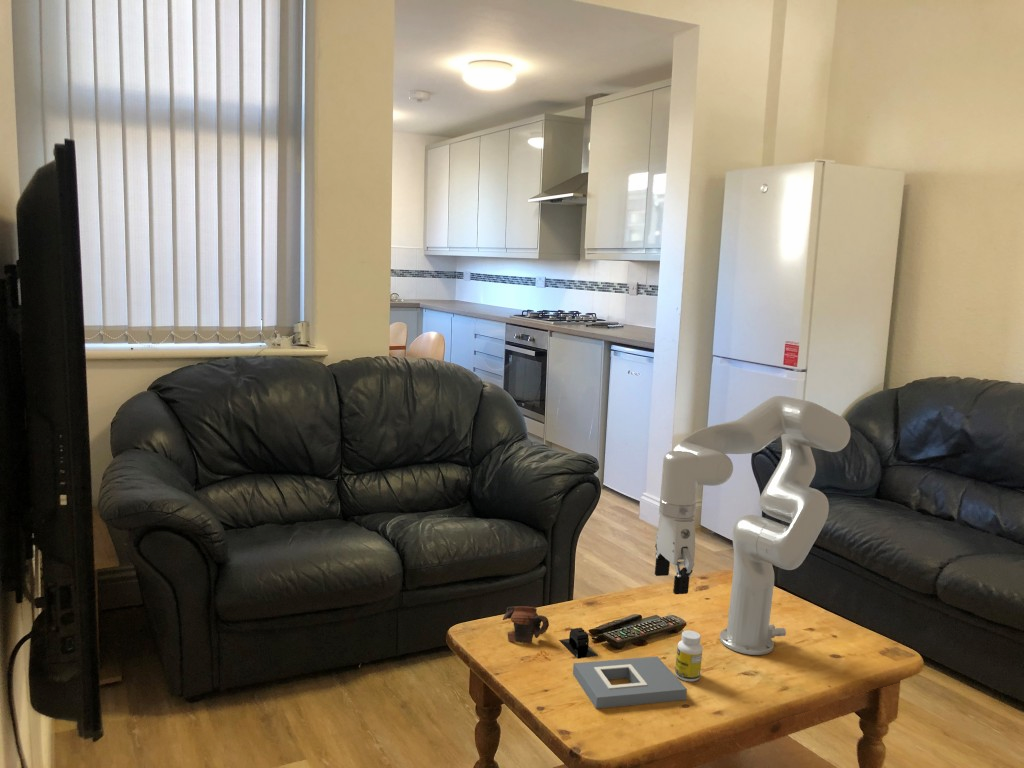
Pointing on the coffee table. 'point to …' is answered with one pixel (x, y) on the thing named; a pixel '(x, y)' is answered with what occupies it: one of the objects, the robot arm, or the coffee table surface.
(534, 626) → the pottery mug
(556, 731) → the coffee table surface
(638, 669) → the board
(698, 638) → the supplement bottle
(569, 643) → the black stand
